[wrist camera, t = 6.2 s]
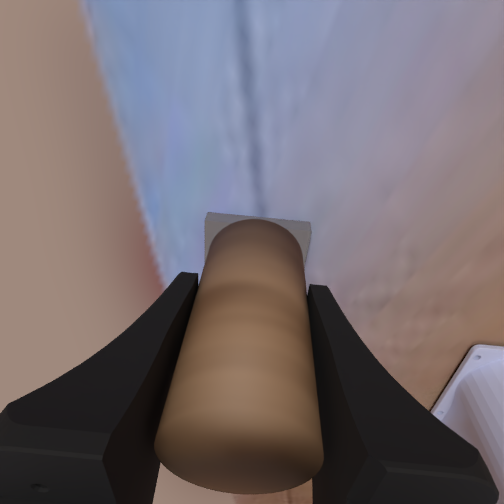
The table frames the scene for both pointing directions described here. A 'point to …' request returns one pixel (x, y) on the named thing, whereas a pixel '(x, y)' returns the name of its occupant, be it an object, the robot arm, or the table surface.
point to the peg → (245, 370)
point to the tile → (220, 221)
